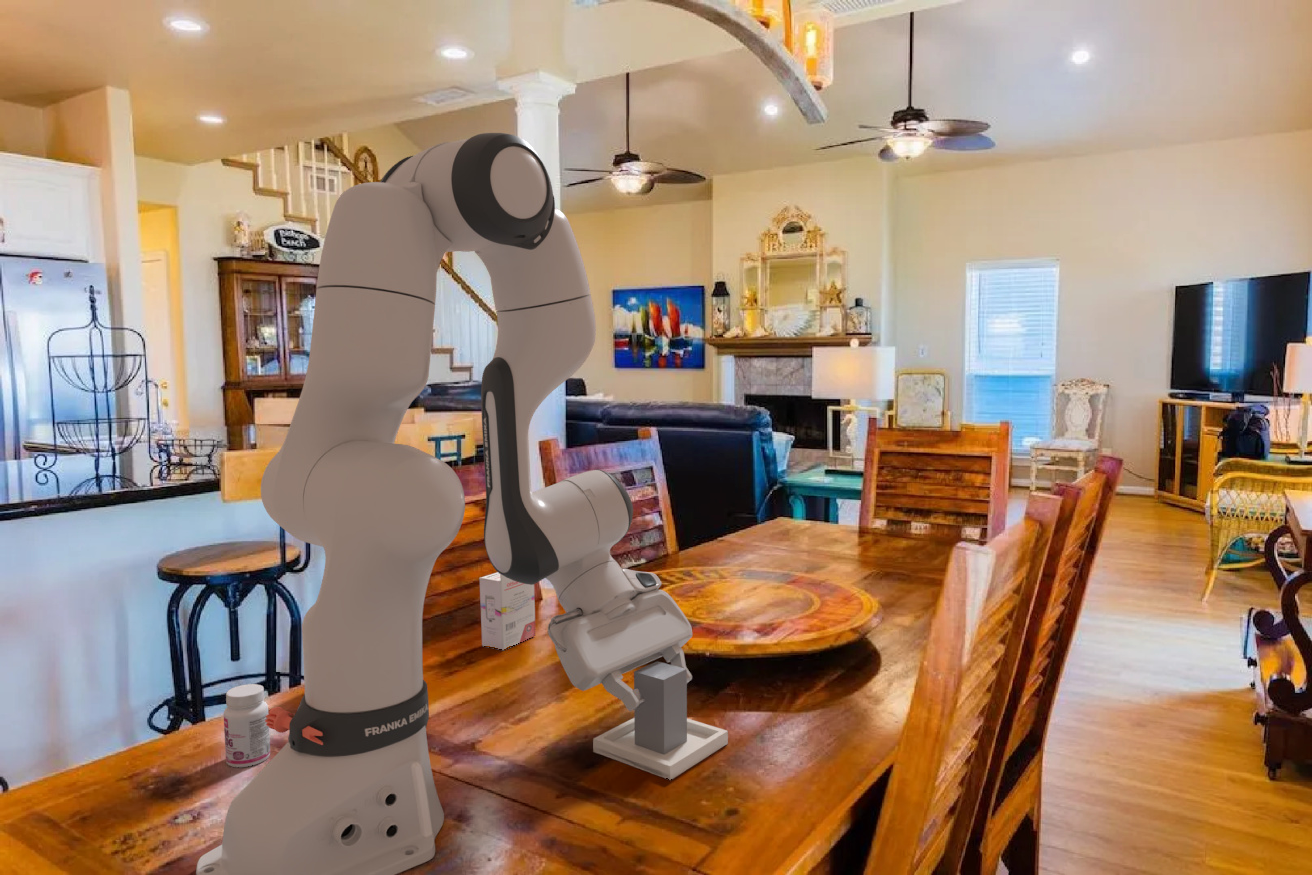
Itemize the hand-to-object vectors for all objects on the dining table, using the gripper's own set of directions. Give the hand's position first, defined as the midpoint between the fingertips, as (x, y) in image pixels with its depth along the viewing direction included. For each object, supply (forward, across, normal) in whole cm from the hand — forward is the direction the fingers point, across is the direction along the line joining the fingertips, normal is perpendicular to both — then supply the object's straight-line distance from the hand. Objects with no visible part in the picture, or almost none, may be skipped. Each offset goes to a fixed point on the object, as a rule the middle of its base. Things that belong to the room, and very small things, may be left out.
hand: (662, 694), depth 102 cm
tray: (+4, 0, +5) cm, 7 cm away
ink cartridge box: (-27, +16, +37) cm, 49 cm away
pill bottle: (-22, -32, +31) cm, 50 cm away
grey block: (+4, 0, +4) cm, 6 cm away
